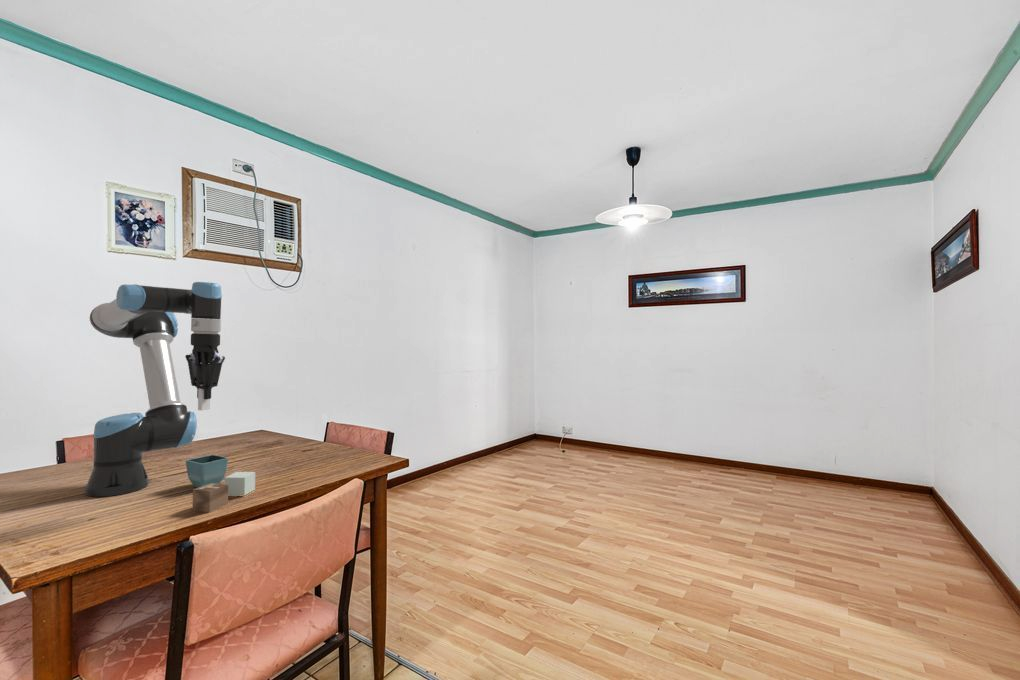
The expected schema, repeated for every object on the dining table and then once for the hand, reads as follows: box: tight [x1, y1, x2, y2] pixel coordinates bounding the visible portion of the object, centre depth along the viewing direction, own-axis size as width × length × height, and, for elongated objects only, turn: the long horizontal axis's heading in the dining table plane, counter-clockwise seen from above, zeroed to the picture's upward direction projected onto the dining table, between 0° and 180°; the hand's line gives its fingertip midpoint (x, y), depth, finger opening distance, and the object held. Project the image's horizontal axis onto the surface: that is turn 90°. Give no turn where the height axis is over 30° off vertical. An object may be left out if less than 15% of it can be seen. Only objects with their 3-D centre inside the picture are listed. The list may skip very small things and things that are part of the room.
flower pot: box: [185, 454, 229, 488], centre depth 149 cm, size 9×9×9 cm
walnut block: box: [192, 483, 229, 513], centre depth 130 cm, size 6×6×6 cm
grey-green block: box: [224, 471, 256, 496], centre depth 142 cm, size 6×6×6 cm
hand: (203, 409), depth 140 cm, fingers closed
